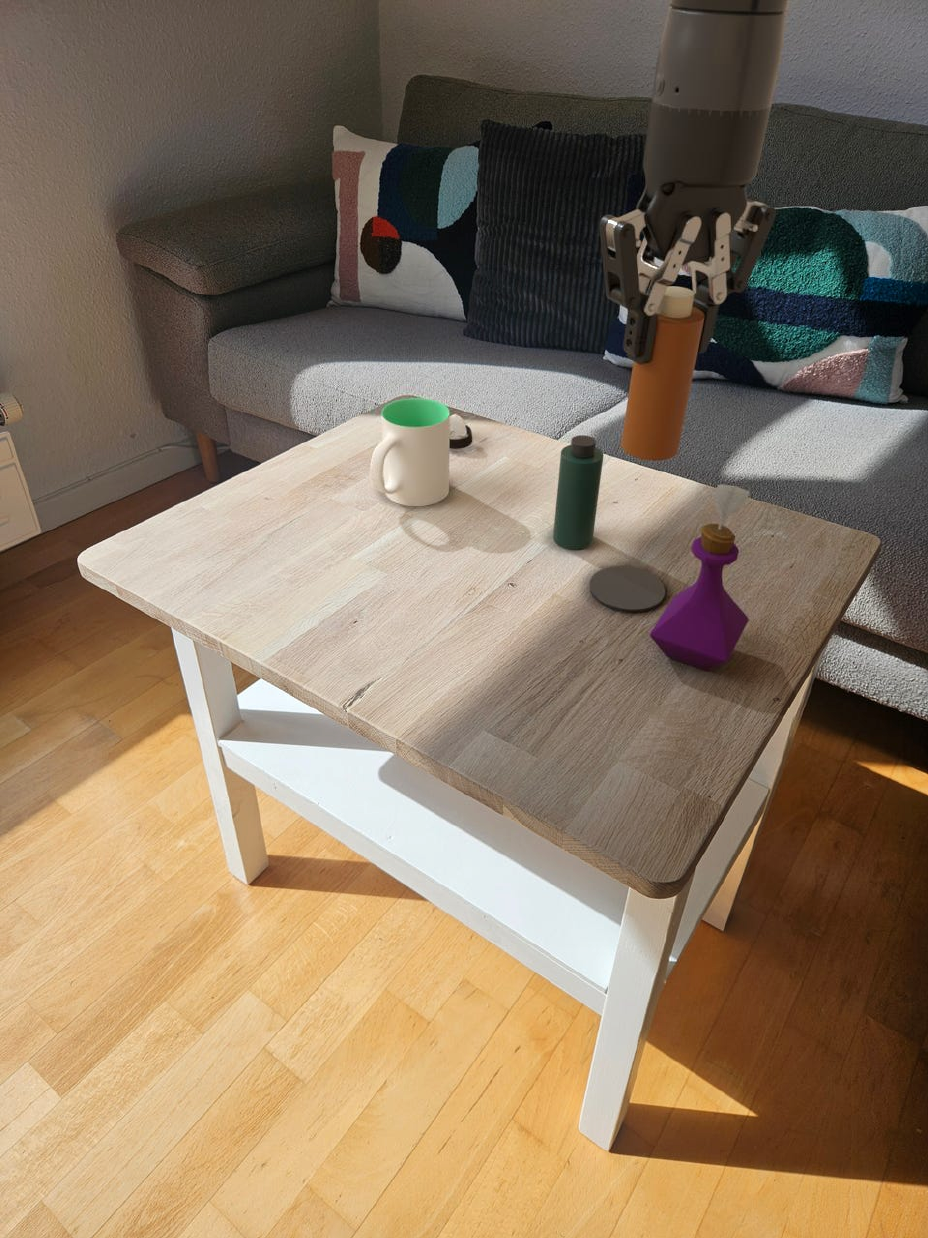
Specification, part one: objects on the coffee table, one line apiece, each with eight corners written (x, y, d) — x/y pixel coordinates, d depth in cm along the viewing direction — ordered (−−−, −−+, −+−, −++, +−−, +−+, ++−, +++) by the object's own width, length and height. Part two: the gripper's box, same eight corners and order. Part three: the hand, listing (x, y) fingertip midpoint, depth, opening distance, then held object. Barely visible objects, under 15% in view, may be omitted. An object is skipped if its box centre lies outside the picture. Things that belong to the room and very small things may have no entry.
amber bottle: (669, 433, 73) (698, 281, 65) (684, 460, 69) (717, 302, 62) (615, 434, 73) (638, 281, 65) (628, 461, 69) (653, 302, 61)
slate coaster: (654, 567, 96) (654, 564, 96) (673, 611, 90) (673, 608, 90) (583, 569, 96) (583, 566, 96) (597, 613, 90) (597, 610, 89)
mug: (408, 527, 102) (405, 446, 96) (352, 508, 105) (347, 429, 99) (461, 484, 110) (462, 408, 104) (408, 468, 113) (406, 392, 107)
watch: (480, 445, 119) (481, 420, 117) (455, 455, 116) (456, 430, 114) (443, 426, 123) (443, 402, 121) (418, 436, 121) (417, 411, 119)
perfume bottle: (719, 688, 81) (764, 522, 70) (643, 661, 84) (675, 498, 73) (742, 644, 86) (787, 483, 75) (670, 620, 89) (703, 462, 78)
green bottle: (588, 528, 103) (600, 430, 95) (596, 549, 99) (609, 450, 91) (549, 528, 102) (559, 431, 95) (556, 550, 99) (565, 450, 91)
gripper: (657, 110, 50) (616, 389, 61) (837, 99, 56) (771, 358, 66) (585, 91, 55) (560, 351, 66) (757, 83, 61) (708, 325, 71)
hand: (666, 353), depth 66 cm, fingers closed on amber bottle, 4 cm apart
